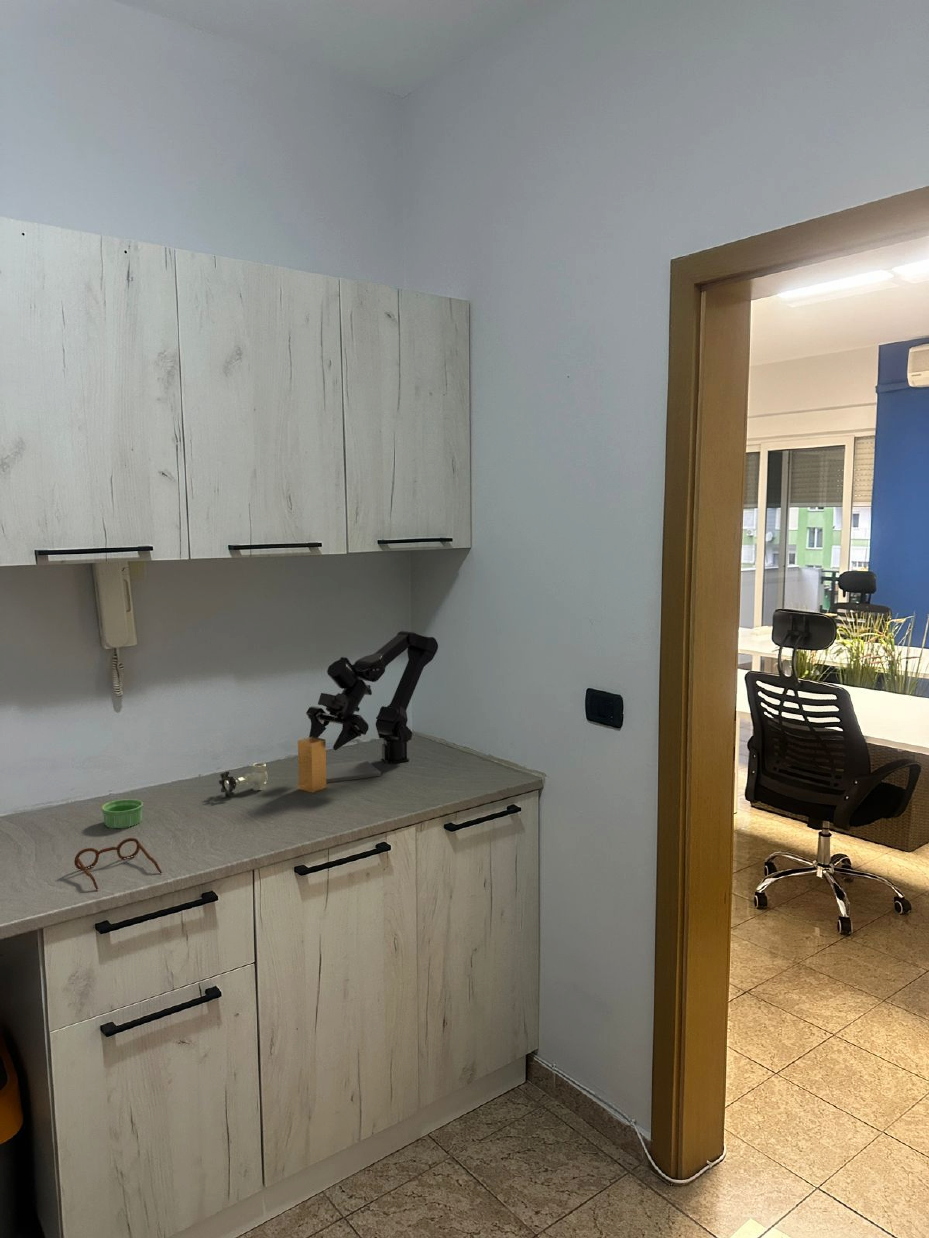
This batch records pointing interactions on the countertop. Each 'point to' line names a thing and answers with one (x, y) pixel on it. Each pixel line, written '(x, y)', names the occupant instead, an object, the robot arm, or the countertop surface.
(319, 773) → the wooden block
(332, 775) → the rubber mat
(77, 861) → the glasses
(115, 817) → the ramekin
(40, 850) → the countertop surface
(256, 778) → the valve
